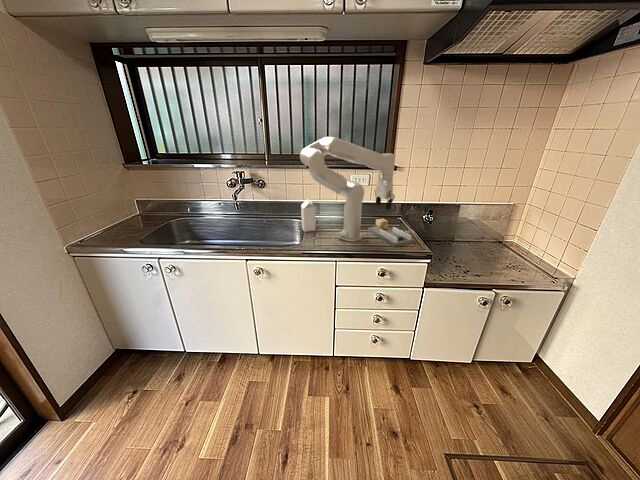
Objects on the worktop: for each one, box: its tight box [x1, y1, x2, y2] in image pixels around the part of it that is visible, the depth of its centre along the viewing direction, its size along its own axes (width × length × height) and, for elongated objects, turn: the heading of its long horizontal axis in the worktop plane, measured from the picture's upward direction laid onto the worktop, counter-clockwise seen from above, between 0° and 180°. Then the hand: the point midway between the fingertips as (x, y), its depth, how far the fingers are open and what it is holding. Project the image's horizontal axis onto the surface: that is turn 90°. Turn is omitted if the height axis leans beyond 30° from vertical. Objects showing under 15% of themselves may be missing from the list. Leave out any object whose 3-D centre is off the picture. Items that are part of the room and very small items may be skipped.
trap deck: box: [367, 226, 413, 248], centre depth 147 cm, size 12×25×4 cm, turn 24°
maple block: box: [374, 218, 389, 230], centre depth 154 cm, size 5×5×5 cm
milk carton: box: [300, 198, 316, 233], centre depth 155 cm, size 7×7×19 cm
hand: (383, 206), depth 148 cm, fingers open, 9 cm apart
